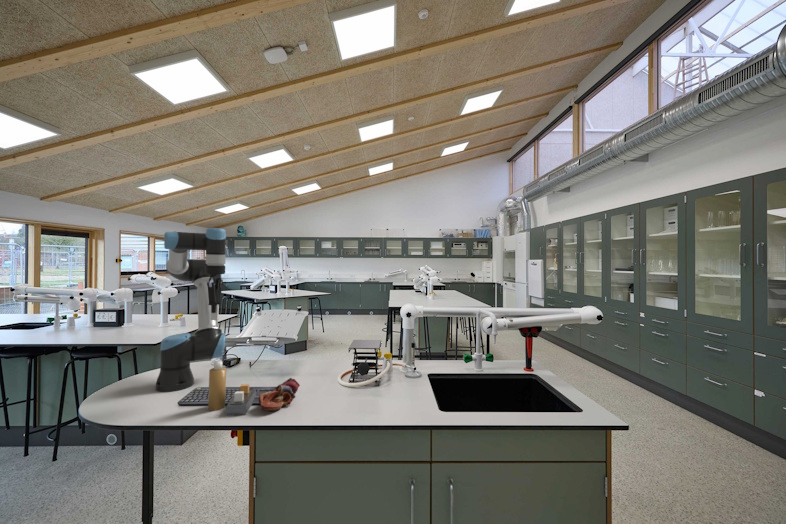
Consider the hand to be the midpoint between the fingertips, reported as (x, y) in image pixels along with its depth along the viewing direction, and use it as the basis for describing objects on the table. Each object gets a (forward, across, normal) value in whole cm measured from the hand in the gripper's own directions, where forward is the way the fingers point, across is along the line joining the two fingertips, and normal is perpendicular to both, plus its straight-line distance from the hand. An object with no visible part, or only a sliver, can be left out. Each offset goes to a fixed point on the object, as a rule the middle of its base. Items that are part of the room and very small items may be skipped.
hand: (214, 319), depth 148 cm
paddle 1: (+29, +16, +14) cm, 36 cm away
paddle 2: (+29, +8, +15) cm, 34 cm away
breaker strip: (+33, +9, +15) cm, 37 cm away
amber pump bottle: (+33, +12, +5) cm, 35 cm away
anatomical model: (+33, +14, +29) cm, 46 cm away
